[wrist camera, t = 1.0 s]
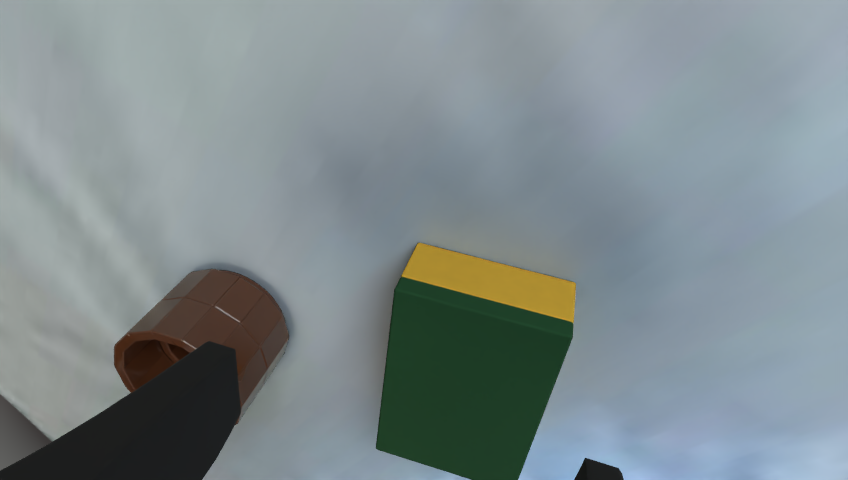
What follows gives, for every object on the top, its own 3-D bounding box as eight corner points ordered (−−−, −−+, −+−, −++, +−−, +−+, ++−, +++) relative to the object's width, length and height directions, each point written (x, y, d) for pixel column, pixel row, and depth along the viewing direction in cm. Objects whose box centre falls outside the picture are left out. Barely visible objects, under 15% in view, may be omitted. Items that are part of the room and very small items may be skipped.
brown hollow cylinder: (295, 370, 27) (246, 449, 23) (190, 338, 28) (126, 409, 24) (293, 282, 24) (236, 356, 20) (175, 249, 25) (98, 314, 21)
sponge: (521, 434, 25) (513, 493, 23) (396, 396, 26) (375, 449, 24) (576, 281, 20) (573, 337, 18) (417, 241, 21) (393, 289, 18)
